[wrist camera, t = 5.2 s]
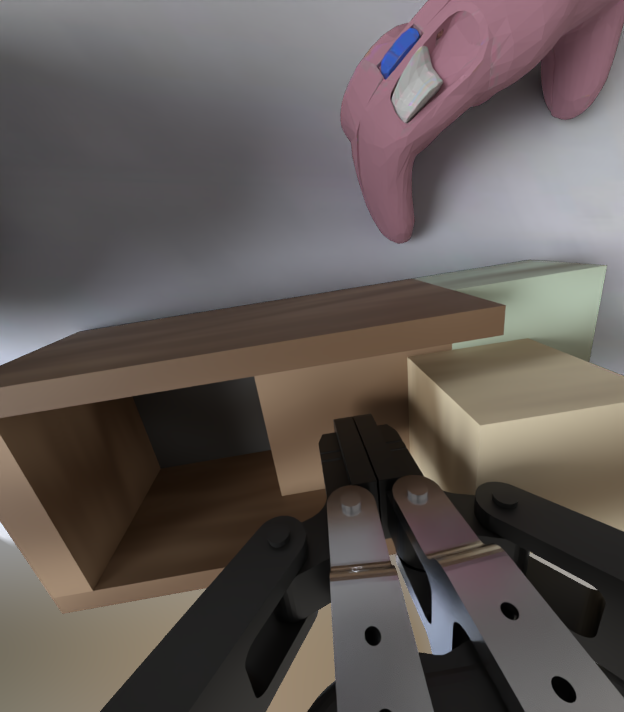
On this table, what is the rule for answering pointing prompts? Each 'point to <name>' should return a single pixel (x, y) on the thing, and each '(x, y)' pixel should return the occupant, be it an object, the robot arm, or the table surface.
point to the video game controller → (465, 81)
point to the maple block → (520, 424)
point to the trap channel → (233, 417)
